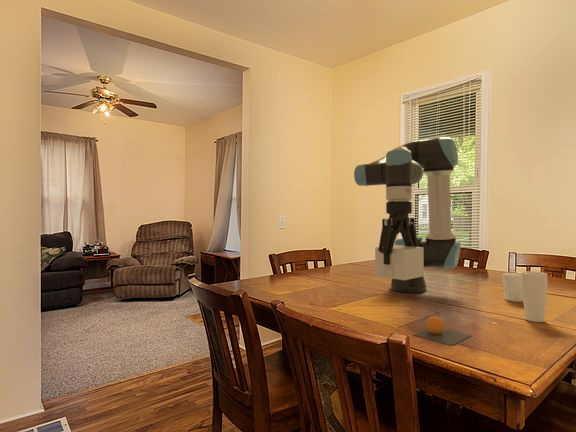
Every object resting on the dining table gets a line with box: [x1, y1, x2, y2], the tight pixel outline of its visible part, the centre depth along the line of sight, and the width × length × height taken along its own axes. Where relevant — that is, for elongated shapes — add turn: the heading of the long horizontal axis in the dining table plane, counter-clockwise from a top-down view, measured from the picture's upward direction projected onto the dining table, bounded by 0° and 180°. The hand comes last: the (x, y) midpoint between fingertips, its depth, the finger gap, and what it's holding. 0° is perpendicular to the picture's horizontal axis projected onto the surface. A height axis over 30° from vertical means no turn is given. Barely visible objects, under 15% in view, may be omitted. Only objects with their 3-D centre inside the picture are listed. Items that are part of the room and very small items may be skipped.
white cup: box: [502, 272, 523, 303], centre depth 143 cm, size 8×8×10 cm
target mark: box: [413, 328, 472, 346], centre depth 103 cm, size 11×11×1 cm
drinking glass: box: [521, 270, 548, 323], centre depth 116 cm, size 7×7×15 cm
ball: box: [425, 315, 446, 335], centre depth 104 cm, size 5×5×5 cm
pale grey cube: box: [374, 244, 425, 280], centre depth 113 cm, size 10×10×9 cm
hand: (399, 273), depth 113 cm, fingers closed on pale grey cube, 10 cm apart
